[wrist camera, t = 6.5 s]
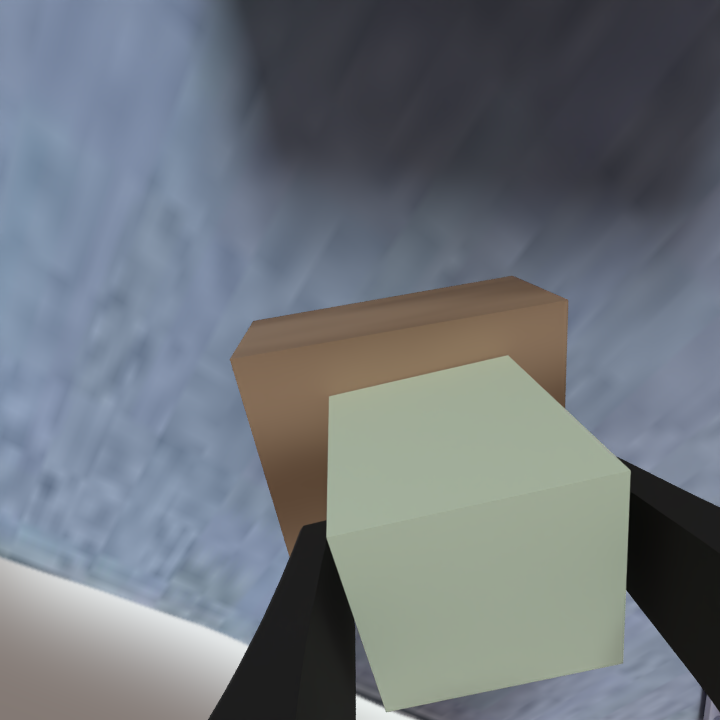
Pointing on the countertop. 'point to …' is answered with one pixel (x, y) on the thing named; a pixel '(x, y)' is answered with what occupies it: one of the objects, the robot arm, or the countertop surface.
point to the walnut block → (379, 368)
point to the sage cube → (475, 533)
